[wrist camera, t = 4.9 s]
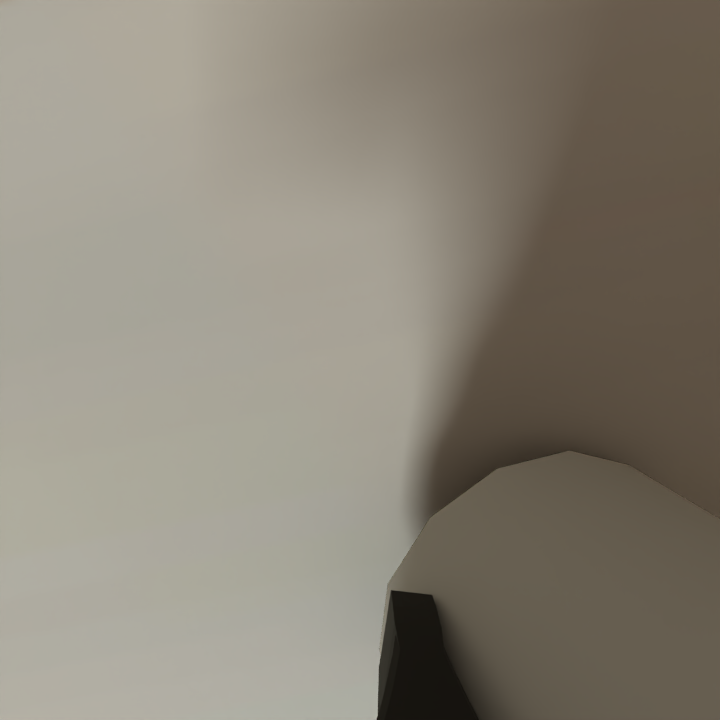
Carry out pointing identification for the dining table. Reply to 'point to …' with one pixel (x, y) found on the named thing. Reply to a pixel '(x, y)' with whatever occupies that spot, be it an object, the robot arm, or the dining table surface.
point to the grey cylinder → (574, 593)
